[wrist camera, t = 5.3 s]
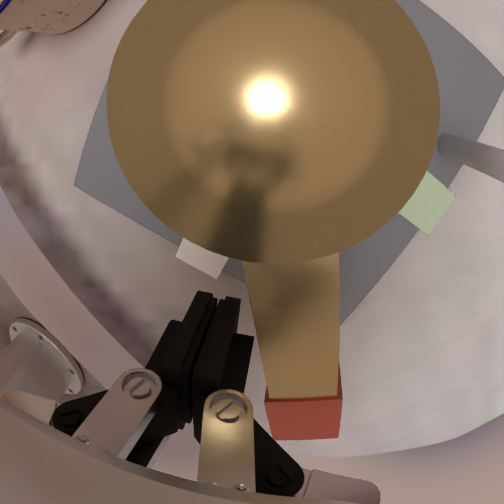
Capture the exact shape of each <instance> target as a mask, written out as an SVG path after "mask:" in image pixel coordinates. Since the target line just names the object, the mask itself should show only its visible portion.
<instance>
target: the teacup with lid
mask: <svg viewBox="0 0 504 504" xmlns="http://www.w3.org/2000/svg"><path fill="white" fill-rule="evenodd" d="M104 1H105V0H0V30H4V31H3V32H2V33H1V34H0V47H1V46H2V45H4V44H5V43H7V42H8V41H9V40H10V39H11V38H12V37H13V36H14V35H15V34H16V33H17V32H18V31H27V32H37V33H45V34H61V33H65V32H67V31H70V30H72V29H74V28H76V27H77V26H79V25H80V24H82V23H83V22H85V21H86V20H87V19H88V18H89V17H90V16H92V15H93V14H94V13H95V12H96V11H97V10H98V8H99V7H100V6H101V5H102V4H103V2H104Z"/></svg>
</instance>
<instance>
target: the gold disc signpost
mask: <svg viewBox="0 0 504 504" xmlns="http://www.w3.org/2000/svg"><path fill="white" fill-rule="evenodd" d="M106 112H107V122H108V129H109V135H110V139H111V143H112V146H113V150H114V153H115V156H116V158H117V161H118V163H119V165H120V168H121V170H122V172H123V174H124V176H125V177H126V179H127V181H128V183H129V184H130V186H131V188H132V189H133V191H134V192H135V193H136V195H137V196H138V197H139V199H140V200H141V201H142V202H143V204H144V205H145V206H146V207H147V208H148V209H149V210H150V211H151V212H152V213H153V214H154V215H155V216H156V217H157V218H158V219H159V220H160V221H161V222H163V223H164V224H165V225H166V226H168V227H169V228H170V229H171V230H172V231H174V232H175V233H177V234H179V235H180V236H182V237H183V238H185V239H186V240H188V241H190V242H192V243H194V244H196V245H198V246H200V247H202V248H204V249H206V250H208V251H211V252H214V253H217V254H220V255H223V256H226V257H229V258H233V259H238V260H242V262H243V267H244V272H245V277H246V283H247V288H248V293H249V298H250V303H251V308H252V313H253V318H254V323H255V328H256V333H257V338H258V344H259V349H260V353H261V358H262V363H263V368H264V373H265V378H266V383H267V386H266V393H265V400H264V404H265V408H266V412H267V416H268V421H269V425H270V429H271V433H272V438H273V439H274V440H310V439H328V438H338V436H339V428H340V419H341V409H342V387H341V376H340V366H339V334H340V277H339V252H340V251H342V250H345V249H347V248H350V247H352V246H354V245H355V244H357V243H359V242H361V241H363V240H364V239H366V238H368V237H370V236H371V235H372V234H374V233H375V232H376V231H378V230H379V229H380V228H382V227H383V226H384V225H386V224H387V223H388V222H389V221H390V220H391V219H392V218H393V217H394V216H395V215H396V214H397V213H398V212H399V211H400V210H401V209H402V208H403V207H404V205H405V204H406V203H407V202H408V200H409V199H410V198H411V197H412V195H413V194H414V193H415V191H416V189H417V188H418V186H419V184H420V182H421V181H422V179H423V177H424V176H425V173H426V171H427V169H428V166H429V164H430V161H431V159H432V156H433V153H434V149H435V145H436V141H437V137H438V131H439V121H440V96H439V87H438V82H437V77H436V72H435V68H434V65H433V62H432V59H431V56H430V54H429V51H428V48H427V46H426V44H425V42H424V41H423V39H422V37H421V35H420V33H419V31H418V29H417V28H416V26H415V25H414V23H413V22H412V21H411V19H410V18H409V16H408V15H407V14H406V12H405V11H404V10H403V9H402V8H401V7H400V6H399V4H398V3H397V2H396V1H395V0H148V1H147V2H146V3H145V4H144V6H143V7H142V8H141V9H140V11H139V12H138V13H137V14H136V16H135V17H134V18H133V20H132V21H131V23H130V25H129V26H128V28H127V30H126V31H125V33H124V35H123V37H122V39H121V41H120V43H119V46H118V48H117V50H116V53H115V55H114V58H113V62H112V66H111V70H110V73H109V79H108V86H107V95H106Z"/></svg>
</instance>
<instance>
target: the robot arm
mask: <svg viewBox="0 0 504 504" xmlns="http://www.w3.org/2000/svg"><path fill="white" fill-rule="evenodd" d="M240 303H241V299H239V298H233V297H228V296H226V298H225V300H223V299H220V300H219V303H218V306H217V298H213V294H212V293H208V292H203V291H197V293H196V295H195V297H194V299H193V301H192V303H191V305H190V307H189V309H188V311H187V313H186V315H185V317H184V319H183V321H182V322H180V321H176V320H171V321H170V322H169V324H168V326H167V328H166V330H165V331H164V333H163V335H162V337H161V339H160V341H159V343H158V345H157V346H156V348H155V350H154V352H153V354H152V356H151V358H150V360H149V362H148V364H147V365H146V367H145V368H135V369H130V370H128V371H126V372H124V373H123V374H122V375H121V376H120V377H119V378H118V379H117V381H116V382H115V383H114V385H113V386H112V387H111V388H110V389H109V390H106V391H102V392H99V393H96V394H92V395H89V396H85V397H82V398H79V399H75V400H71V401H68V402H65V403H63V404H58V402H59V400H60V399H61V397H62V396H63V394H64V393H66V394H77V393H78V392H79V391H80V390H81V388H82V387H83V384H84V379H83V375H82V372H81V370H80V368H79V366H78V364H77V363H76V361H75V360H74V358H73V357H72V355H71V354H70V353H69V352H68V351H67V349H66V348H65V347H64V346H63V345H62V344H61V343H60V342H59V341H58V340H57V339H56V338H55V337H54V336H53V335H52V334H51V333H49V332H48V331H47V330H46V329H44V328H43V327H41V326H40V325H38V324H37V323H35V322H33V321H31V320H28V319H24V318H19V319H16V320H15V321H14V322H13V323H12V324H11V325H10V328H9V335H10V339H11V342H10V343H9V345H8V346H7V347H6V348H5V349H4V350H3V351H2V352H1V354H0V504H380V491H379V489H378V487H377V486H376V485H374V484H373V483H372V482H369V481H366V480H361V479H355V478H350V477H345V476H341V475H336V474H332V473H328V472H323V471H320V470H316V469H313V470H312V471H311V470H307V469H303V468H301V467H300V466H299V464H298V463H297V462H296V461H295V460H294V459H292V457H290V455H289V454H287V453H286V452H285V451H284V450H283V449H282V448H281V447H280V445H279V444H278V443H277V442H276V441H275V440H274V439H273V438H272V437H271V436H270V435H269V434H268V433H267V432H266V431H265V430H264V429H263V428H262V427H261V426H260V425H259V424H258V423H257V421H256V420H255V419H254V418H253V407H252V403H251V401H250V400H249V398H248V397H246V396H245V395H244V389H245V384H246V379H247V373H248V368H249V363H250V357H251V352H252V347H253V341H254V336H248V335H243V334H238V333H237V326H238V318H239V311H240ZM192 418H193V425H194V437H195V438H196V440H197V441H198V442H199V444H200V454H199V466H198V478H197V482H196V481H191V480H187V479H184V478H180V477H176V476H173V475H169V474H165V473H162V472H159V471H156V470H153V469H151V468H152V466H153V465H154V463H155V461H156V459H157V458H158V456H159V455H160V453H161V451H162V449H163V448H164V446H165V444H166V443H167V441H168V438H169V435H171V434H173V433H175V432H177V431H178V429H182V430H183V428H184V425H185V422H186V423H191V421H192Z"/></svg>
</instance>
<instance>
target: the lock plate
mask: <svg viewBox="0 0 504 504" xmlns="http://www.w3.org/2000/svg"><path fill="white" fill-rule="evenodd" d="M147 1H148V0H147ZM395 1H396V2H397V3H398V4H399V6H400V7H401V8H402V9H403V10H404V11H405V12H406V14H407V15H408V16H409V18H410V19H411V21H412V22H413V23H414V25H415V26H416V28H417V29H418V31H419V33H420V35H421V37H422V39H423V41H424V42H425V44H426V46H427V48H428V51H429V54H430V56H431V59H432V62H433V65H434V68H435V72H436V77H437V82H438V87H439V96H440V121H439V131H438V137H437V141H436V145H435V149H434V153H433V156H432V159H431V161H430V164H429V166H428V169H427V171H426V173H425V176H424V177H423V179H422V181H421V182H420V184H419V186H418V188H417V189H416V191H415V193H414V194H413V195H412V197H411V198H410V199H409V200H408V202H407V203H406V204H405V205H404V207H403V208H402V209H401V210H400V211H399V212H398V213H397V214H396V215H395V216H394V217H393V218H392V219H391V220H390V221H389V222H388V223H387V224H386V225H384V226H383V227H382V228H380V229H379V230H378V231H376V232H375V233H374V234H372V235H371V236H370V237H368V238H366V239H364V240H363V241H361V242H359V243H357V244H355V245H354V246H352V247H350V248H347V249H345V250H342V251H340V252H339V277H340V325H341V324H342V323H343V321H344V320H345V319H346V318H347V317H348V316H349V315H350V314H351V313H352V311H353V310H354V309H355V308H356V307H357V306H358V305H359V304H360V302H361V301H362V300H363V299H364V298H365V297H366V295H367V294H368V293H369V292H370V291H371V290H372V288H373V287H374V286H375V285H376V284H377V282H378V281H379V280H380V279H381V278H382V276H383V275H384V274H385V273H386V271H387V270H388V269H389V268H390V266H391V265H392V264H393V263H394V261H395V260H396V259H397V258H398V256H399V255H400V254H401V253H402V251H403V250H404V249H405V247H406V246H407V245H408V243H409V242H410V241H411V239H412V238H413V237H414V235H415V234H416V233H417V231H418V230H419V229H420V230H422V231H423V232H424V233H425V234H427V235H428V236H429V234H430V233H431V231H432V230H433V229H434V227H435V226H436V225H437V223H438V222H439V220H440V219H441V218H442V216H443V215H444V213H445V212H446V210H447V209H448V207H449V206H450V204H451V203H452V202H453V200H454V199H455V197H456V196H455V195H454V194H453V193H452V192H451V191H450V190H449V189H447V188H448V187H449V185H450V184H451V182H452V180H453V179H454V177H455V176H456V174H457V173H458V171H459V169H460V168H461V166H462V164H465V165H467V166H469V167H471V168H474V169H476V170H478V171H480V172H483V173H485V174H487V175H489V176H491V177H493V178H495V179H497V180H499V181H501V182H503V183H504V150H502V149H499V148H496V147H493V146H489V145H486V144H483V143H479V142H476V141H477V139H478V137H479V136H480V134H481V132H482V130H483V128H484V126H485V125H486V123H487V121H488V119H489V117H490V115H491V113H492V111H493V109H494V107H495V105H496V103H497V101H498V99H499V97H500V95H501V93H502V91H503V89H504V77H503V75H502V74H501V73H500V72H499V71H498V70H497V69H496V68H495V67H494V66H493V64H492V63H491V62H490V61H489V60H488V59H487V58H486V57H485V56H484V55H483V54H482V53H481V52H480V51H479V50H478V49H477V48H476V47H475V46H474V45H473V44H472V43H470V42H469V41H468V40H467V39H466V38H465V37H464V36H463V35H462V34H461V33H459V32H458V31H457V30H456V29H455V28H454V27H453V26H451V25H450V24H449V23H448V22H447V21H445V20H444V19H443V18H442V17H440V16H439V15H438V14H437V13H435V12H434V11H433V10H431V9H430V8H429V7H428V6H426V5H425V4H423V3H422V2H421V1H419V0H395ZM108 79H109V78H108ZM107 86H108V80H107V83H106V85H105V88H104V90H103V93H102V95H101V98H100V101H99V103H98V106H97V109H96V112H95V114H94V117H93V120H92V123H91V126H90V129H89V132H88V135H87V139H86V142H85V145H84V148H83V152H82V155H81V159H80V163H79V166H78V170H77V174H76V178H75V182H74V186H75V187H77V188H79V189H80V190H82V191H84V192H85V193H87V194H89V195H90V196H92V197H94V198H95V199H97V200H99V201H101V202H102V203H104V204H106V205H107V206H109V207H111V208H113V209H114V210H116V211H118V212H120V213H121V214H123V215H125V216H126V217H128V218H130V219H132V220H133V221H135V222H137V223H139V224H140V225H142V226H144V227H146V228H147V229H149V230H151V231H153V232H155V233H156V234H158V235H160V236H162V237H163V238H165V239H167V240H169V241H171V242H172V243H174V244H176V245H178V246H179V249H178V251H177V253H176V255H175V257H176V258H178V259H180V260H182V261H184V262H185V263H187V264H189V265H191V266H193V267H195V268H196V269H198V270H200V271H202V272H204V273H206V274H207V275H209V276H211V277H213V278H215V279H217V278H218V276H219V274H220V273H221V271H222V270H224V271H225V272H227V273H229V274H231V275H233V276H235V277H237V278H238V279H240V280H242V281H244V282H246V277H245V272H244V267H243V262H242V260H238V259H233V258H229V257H226V256H223V255H220V254H217V253H214V252H211V251H208V250H206V249H204V248H202V247H200V246H198V245H196V244H194V243H192V242H190V241H188V240H186V239H185V238H183V237H182V236H180V235H179V234H177V233H175V232H174V231H172V230H171V229H170V228H169V227H168V226H166V225H165V224H164V223H163V222H161V221H160V220H159V219H158V218H157V217H156V216H155V215H154V214H153V213H152V212H151V211H150V210H149V209H148V208H147V207H146V206H145V205H144V204H143V202H142V201H141V200H140V199H139V197H138V196H137V195H136V193H135V192H134V191H133V189H132V188H131V186H130V184H129V183H128V181H127V179H126V177H125V176H124V174H123V172H122V170H121V168H120V165H119V163H118V161H117V158H116V156H115V153H114V150H113V146H112V143H111V139H110V135H109V129H108V122H107V112H106V95H107Z"/></svg>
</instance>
